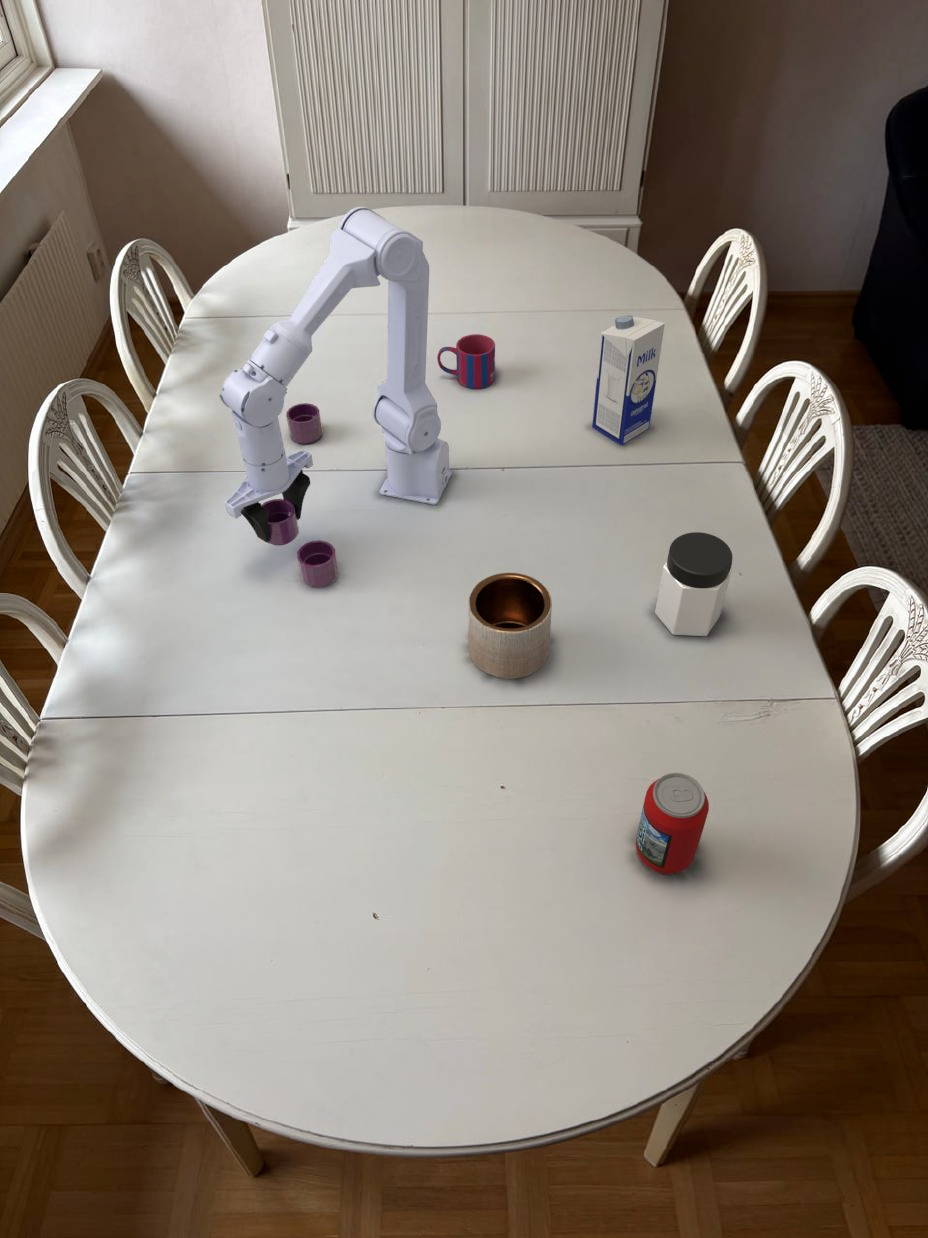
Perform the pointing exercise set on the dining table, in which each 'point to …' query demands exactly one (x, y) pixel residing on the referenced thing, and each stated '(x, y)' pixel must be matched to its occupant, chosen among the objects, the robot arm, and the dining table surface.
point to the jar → (694, 584)
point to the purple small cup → (318, 563)
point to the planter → (509, 625)
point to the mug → (473, 361)
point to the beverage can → (671, 823)
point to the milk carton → (627, 377)
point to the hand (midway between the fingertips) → (279, 527)
